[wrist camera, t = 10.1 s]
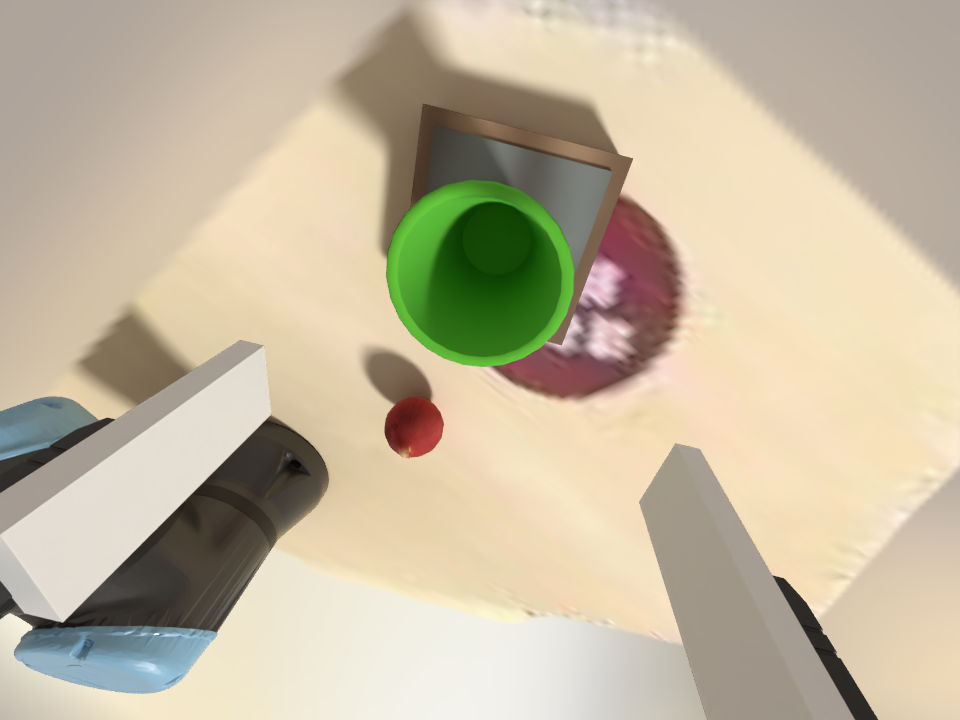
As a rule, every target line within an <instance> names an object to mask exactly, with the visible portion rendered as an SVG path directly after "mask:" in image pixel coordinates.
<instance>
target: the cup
mask: <svg viewBox="0 0 960 720" xmlns="http://www.w3.org/2000/svg"><path fill="white" fill-rule="evenodd" d="M386 278H387V283H388V288H389V293H390V298H391V300H392V303H393V305H394V307H395V309H396V312H397V314H398V316H399V318H400V320H401V321H402V322H403V324H404V325H405V327H406V328H407V329H408V331H409V332H410V333H411V335H412V336H413V337H415V338H416V339H417V340H418V341H419V342H420V343H421V344H422V345H424V346H425V347H426V348H427V349H429V350H430V351H432V352H434V353H436V354H437V355H439V356H441V357H443V358H444V359H448V360H451V361H454V362H457V363H460V364H463V365H471V366H480V367H486V366H496V365H504V364H507V363H510V362H513V361H516V360H519V359H522V358H524V357H525V356H527V355H529V354H530V353H532V352H534V351H535V350H537V349H539V348H540V347H541V346H542V345H543V344H544V343H545V342H546V341H547V340H548V339H549V338H550V337H551V336H552V335H553V334H554V333H555V332H556V331H557V329H558V328H559V326H560V324H561V323H562V321H563V319H564V318H565V316H566V315H567V312H568V308H569V305H570V302H571V299H572V296H573V289H574V265H573V260H572V255H571V250H570V246H569V244H568V242H567V240H566V238H565V236H564V234H563V232H562V230H561V228H560V226H559V224H558V223H557V222H556V220H555V219H554V218H553V217H552V216H551V215H550V213H549V212H548V211H547V210H546V209H545V208H544V207H543V205H542V204H540V203H539V202H537V201H536V200H534V199H533V198H531V197H530V196H528V195H527V194H525V193H524V192H522V191H521V190H518V189H516V188H513V187H510V186H507V185H504V184H501V183H498V182H493V181H478V180H467V181H463V182H458V183H453V184H448V185H445V186H443V187H441V188H439V189H437V190H435V191H433V192H431V193H429V194H427V195H425V196H423V197H422V198H421V199H420V200H419V201H418V202H417V203H416V204H415V205H414V206H413V207H412V208H411V209H409V210H408V211H407V212H406V214H405V215H404V217H403V218H402V220H401V222H400V223H399V225H398V227H397V228H396V230H395V231H394V234H393V237H392V240H391V243H390V247H389V250H388V253H387V271H386Z"/></svg>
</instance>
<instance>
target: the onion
mask: <svg viewBox="0 0 960 720" xmlns="http://www.w3.org/2000/svg"><path fill="white" fill-rule="evenodd" d="M443 426H444V423H443V419H442V416H441V413H440V411H439V410H438V409H437V407H436V406H435V405H434V404H433V403H431V402H430V401H429V400H427V399H424V398H421V397H409V398H406V399H404V400H402V401H399V402H397V403H396V405H395V406H394V407H393V408H392V409H391V410H390V412H389V413H388V415H387V417H386V422H385V436H386V439H387V441H388V443H389V446H390V447H391V448H392V449H393V450H394V451H395V452H396V453H398V454H400V456H402V457H404V458H410V457H419V456H422V455H424V454H426V453H428V452H430V451H432V450H433V449H434V448H435V446H436V445H437V444H438V442H439V441H440V439H441V437H442V432H443Z"/></svg>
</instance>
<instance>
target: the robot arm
mask: <svg viewBox="0 0 960 720" xmlns="http://www.w3.org/2000/svg"><path fill="white" fill-rule="evenodd" d="M270 415H271V407H270V397H269V387H268V378H267V368H266V358H265V349H264V346H263V345H259V344H255V343H251V342H246V341H242V340H240V341H238V342H237V343H235V344H233V345H232V346H230V347H229V348H227V349H226V350H224V351H222V352H221V353H219V354H218V355H216V356H215V357H213V358H211V359H210V360H208V361H207V362H205V363H204V364H202V365H201V366H199V367H197V368H196V369H194V370H193V371H191V372H190V373H188V374H186V375H185V376H183V377H182V378H180V379H179V380H177V381H175V382H174V383H172V384H171V385H169V386H168V387H166V388H164V389H163V390H161V391H160V392H158V393H157V394H155V395H153V396H152V397H150V398H149V399H147V400H146V401H144V402H142V403H141V404H139V405H138V406H136V407H135V408H133V409H132V410H130V411H128V412H127V413H125V414H124V415H122V416H121V417H119V418H117V419H116V420H115V419H111V418H105V419H102V420H100V421H99V420H98V419H97V418H96V417H94V416H93V415H92V414H91V413H89V412H88V411H87V410H86V409H85V408H83V407H82V406H81V405H80V404H79V403H77V402H75V401H73V400H71V399H68V398H64V397H44V398H39V399H35V400H32V401H29V402H26V403H23V404H20V405H17V406H15V407H12V408H9V409H6V410H3V411H0V619H1V618H3V617H4V616H5V615H7V614H8V613H11V614H13V615H15V616H18V617H19V618H21V619H22V620H24V621H26V622H27V623H29V624H30V625H32V626H33V629H32V630H31V631H28V632H27V633H26V634H25V635H24V636H22V637H21V642H20V643H19V644H18V646H17V647H16V649H15V651H14V656H15V657H16V659H17V660H18V661H22V662H23V663H24V664H25V665H26V666H28V667H29V668H31V669H34V670H36V671H38V672H41V673H43V674H46V675H49V676H52V677H55V678H58V679H61V680H65V681H68V682H72V683H76V684H80V685H84V686H88V687H93V688H98V689H103V690H109V691H116V692H125V693H137V694H139V693H140V694H144V693H155V692H160V691H162V690H165V689H168V688H170V687H172V686H173V685H175V684H176V683H178V682H179V681H180V680H181V679H182V678H183V677H184V676H185V675H186V674H187V673H188V672H189V670H190V669H191V667H192V666H193V665H194V663H195V662H196V661H197V660H198V658H199V657H200V656H201V654H202V653H203V652H204V650H205V649H206V648H207V646H208V645H209V644H210V642H211V641H213V640H214V639H215V637H216V636H217V632H218V630H219V628H220V627H221V625H222V624H223V622H224V621H225V619H226V618H227V616H228V615H229V613H230V612H231V610H232V609H233V607H234V605H235V604H236V602H237V601H238V599H239V598H240V596H241V595H242V593H243V592H244V590H245V589H246V587H247V586H248V584H249V582H250V581H251V580H252V578H253V577H254V575H255V573H256V572H257V570H258V569H259V567H260V566H261V564H262V563H263V561H264V560H265V558H266V557H267V555H268V553H269V552H270V551H271V549H272V548H273V546H274V545H275V543H276V542H277V540H278V539H279V538H280V537H281V536H283V535H284V534H285V533H286V532H287V531H289V530H290V529H291V528H292V527H293V526H294V525H296V524H297V523H298V522H299V521H300V520H302V519H303V518H304V517H305V516H306V515H307V514H309V513H310V512H311V511H312V510H313V509H314V508H315V507H316V506H317V505H318V503H319V502H320V500H321V498H322V497H323V495H324V493H325V492H326V490H327V487H328V482H329V477H328V472H327V468H326V466H325V464H324V462H323V460H322V458H321V457H320V455H319V454H318V453H317V452H316V450H315V449H314V448H313V447H312V446H311V445H310V444H309V443H307V442H306V441H305V440H304V439H302V438H301V437H300V436H298V435H297V434H295V433H293V432H292V431H290V430H288V429H286V428H284V427H281V426H279V425H276V424H273V423H270V422H266V421H265V420H266V419H267V418H268V417H269V416H270ZM639 503H640V506H641V509H642V513H643V516H644V519H645V522H646V525H647V529H648V532H649V535H650V538H651V541H652V545H653V548H654V551H655V554H656V558H657V561H658V564H659V567H660V570H661V574H662V577H663V580H664V583H665V586H666V590H667V593H668V596H669V599H670V603H671V606H672V609H673V612H674V615H675V619H676V622H677V625H678V628H679V631H680V635H681V638H682V641H683V644H684V648H685V651H686V654H687V657H688V660H689V663H690V667H691V670H692V673H693V676H694V680H695V683H696V686H697V689H698V692H699V696H700V699H701V702H702V705H703V709H704V712H705V715H706V718H707V720H878V719H877V717H876V715H875V714H874V712H873V711H872V709H871V707H870V706H869V704H868V702H867V701H866V699H865V698H864V696H863V694H862V693H861V691H860V689H859V688H858V686H857V684H856V683H855V681H854V680H853V678H852V676H851V675H850V673H849V671H848V670H847V668H846V667H845V665H844V664H843V662H842V660H841V659H840V658H838V657H837V655H836V653H837V652H836V650H835V649H834V647H833V645H832V644H831V642H830V641H829V639H828V637H827V636H826V635H824V634H823V632H822V630H823V629H822V628H821V626H820V624H819V623H818V621H817V619H816V618H815V616H814V614H813V613H812V611H811V610H810V608H809V606H808V605H807V603H806V602H805V601H804V600H803V599H802V598H801V596H800V595H799V594H798V593H797V592H796V591H795V590H794V589H793V588H792V586H791V585H790V584H789V583H788V582H787V581H786V580H785V579H784V578H781V577H776V576H772V574H771V572H770V571H769V569H768V567H767V565H766V564H765V562H764V560H763V558H762V557H761V555H760V553H759V551H758V550H757V548H756V546H755V544H754V543H753V541H752V539H751V537H750V536H749V534H748V532H747V531H746V529H745V527H744V525H743V524H742V522H741V520H740V518H739V517H738V515H737V513H736V511H735V510H734V508H733V506H732V504H731V503H730V501H729V499H728V497H727V496H726V494H725V492H724V490H723V489H722V487H721V485H720V483H719V482H718V480H717V478H716V476H715V475H714V473H713V471H712V469H711V468H710V466H709V464H708V462H707V461H706V459H705V457H704V455H703V454H702V452H701V450H700V449H698V448H693V447H689V446H685V445H681V444H675V445H674V447H673V448H672V450H671V452H670V453H669V455H668V456H667V458H666V460H665V461H664V463H663V464H662V466H661V468H660V469H659V471H658V473H657V474H656V476H655V477H654V479H653V481H652V482H651V484H650V485H649V487H648V489H647V490H646V492H645V494H644V495H643V497H642V498H641V500H640V502H639Z"/></svg>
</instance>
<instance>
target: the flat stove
mask: <svg viewBox="0 0 960 720" xmlns="http://www.w3.org/2000/svg"><path fill="white" fill-rule="evenodd" d="M632 160H633V158H629V157H625V156H621V155H618V154H614V153H610V152H606V151H602V150H599V149H595V148H591V147H587V146H583V145H579V144H576V143H572V142H568V141H564V140H560V139H557V138H553V137H549V136H545V135H541V134H537V133H534V132H530V131H526V130H522V129H518V128H514V127H511V126H507V125H503V124H499V123H495V122H492V121H488V120H484V119H480V118H476V117H472V116H469V115H465V114H461V113H457V112H453V111H449V110H446V109H442V108H438V107H434V106H430V105H427V104H423V107H422V115H421V124H420V132H419V140H418V149H417V157H416V165H415V173H414V182H413V190H412V198H411V206H410V209H411V208H412V207H413V206H414V205H415V204H416V203H417V202H418V201H419V200H420V199H421V198H422V197H423V196H425V195H427V194H429V193H431V192H433V191H435V190H437V189H439V188H441V187H443V186H445V185H448V184H453V183H458V182H463V181H467V180H478V181H493V182H498V183H501V184H504V185H507V186H510V187H513V188H516V189H518V190H521V191H522V192H524V193H525V194H527V195H528V196H530V197H531V198H533V199H534V200H536V201H537V202H539V203H540V204H542V205H543V207H544V208H545V209H546V210H547V211H548V212H549V213H550V215H551V216H552V217H553V218H554V219H555V220H556V222H557V223H558V224H559V226H560V228H561V230H562V232H563V234H564V236H565V238H566V240H567V242H568V244H569V246H570V250H571V255H572V260H573V265H574V289H573V296H572V299H571V302H570V305H569V308H568V312H567V315H566V316H565V318H564V319H563V321H562V323H561V324H560V326H559V328H558V329H557V331H556V332H555V333H554V334H553V335H552V336H551V337H550V338H549V339H548V340H547V341H548V342H551V343H555V344H559V345H562V343H563V340H564V338H565V335H566V333H567V330H568V327H569V325H570V322H571V320H572V317H573V314H574V312H575V309H576V306H577V304H578V301H579V299H580V296H581V293H582V291H583V288H584V286H585V283H586V280H587V278H588V275H589V273H590V270H591V267H592V265H593V262H594V260H595V257H596V254H597V252H598V249H599V247H600V244H601V241H602V239H603V236H604V233H605V231H606V228H607V226H608V223H609V220H610V218H611V215H612V213H613V210H614V207H615V205H616V202H617V200H618V197H619V194H620V192H621V189H622V187H623V184H624V181H625V179H626V176H627V173H628V171H629V168H630V166H631V163H632Z"/></svg>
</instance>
